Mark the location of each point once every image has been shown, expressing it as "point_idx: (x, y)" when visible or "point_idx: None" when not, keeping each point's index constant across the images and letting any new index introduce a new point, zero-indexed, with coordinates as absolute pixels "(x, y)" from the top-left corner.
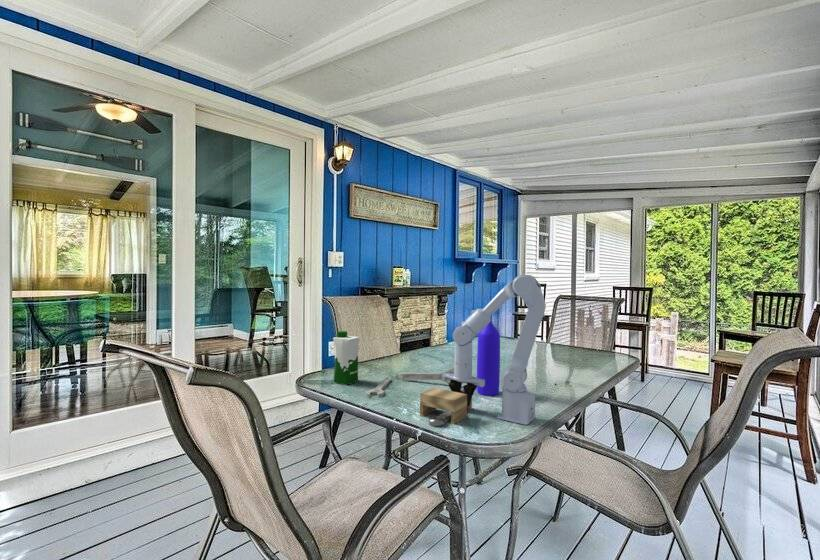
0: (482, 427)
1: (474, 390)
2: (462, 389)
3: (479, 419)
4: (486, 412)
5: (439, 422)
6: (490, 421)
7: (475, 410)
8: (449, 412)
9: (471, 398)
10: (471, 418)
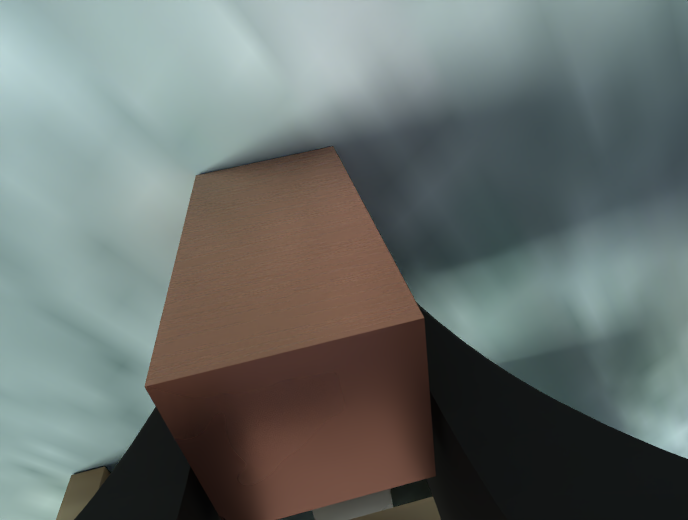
0: (642, 415)
1: (597, 438)
2: (193, 454)
3: (572, 335)
4: (565, 117)
5: None
6: (672, 299)
7: (415, 167)
8: (350, 511)
9: (448, 331)
10: (503, 368)
